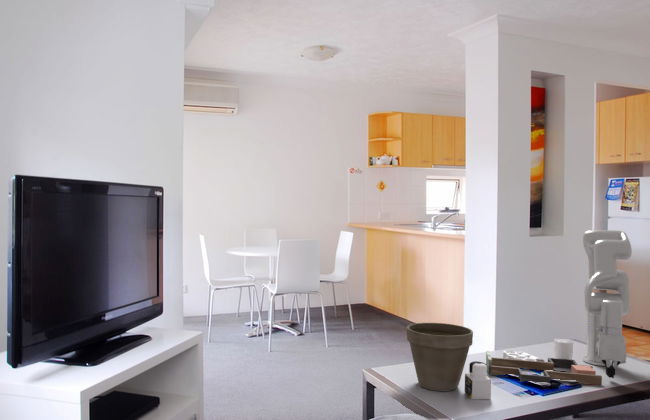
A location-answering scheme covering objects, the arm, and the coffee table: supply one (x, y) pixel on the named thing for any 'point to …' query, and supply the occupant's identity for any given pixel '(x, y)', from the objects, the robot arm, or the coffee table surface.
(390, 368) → the coffee table surface
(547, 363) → the channel
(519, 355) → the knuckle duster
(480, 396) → the medicine bottle
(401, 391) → the coffee table surface
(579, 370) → the salmon pink square block
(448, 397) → the coffee table surface
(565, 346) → the white cup
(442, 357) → the plant pot
